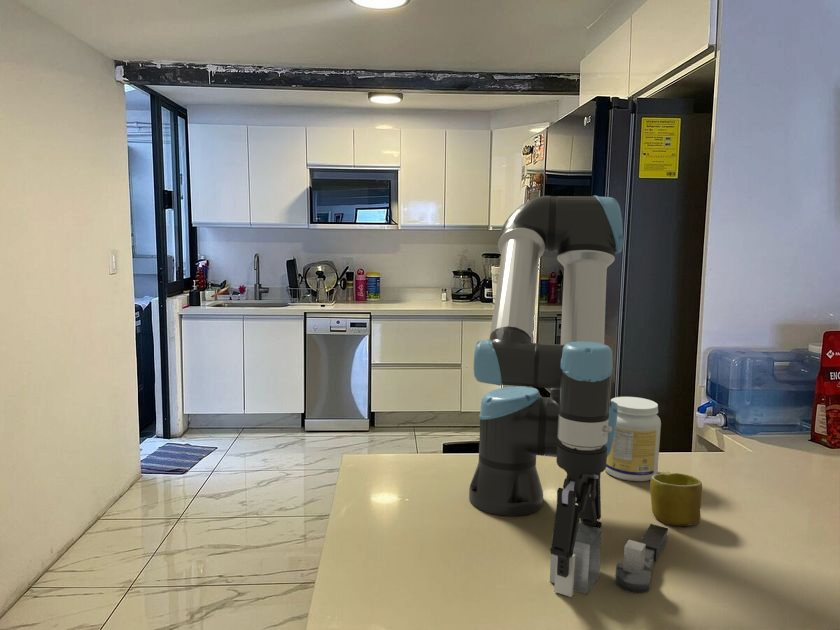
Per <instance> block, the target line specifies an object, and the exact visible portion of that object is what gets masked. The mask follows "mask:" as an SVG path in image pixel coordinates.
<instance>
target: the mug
mask: <svg viewBox="0 0 840 630" xmlns="http://www.w3.org/2000/svg"><path fill="white" fill-rule="evenodd" d="M649 481H650V482H649V491H650V499H651V501H650V503H651V510H652V511H651V512H652V514H653V516H654V517H655V519H656V520H658V521H659V522H661V523H663V524H664V525H671V526H676V527H677V526H678V527H679V526H682V527H683V526H685V527H686V526H693V525H696V524H699V523H700V521H701V509H702V508H701V507H702V496H703V484H702V481H701V479H699V478H697V477H695V476H693V475H691V474H686V473H679V472H678V473H677V472H674V473H672V472H670V471H669V470H660V471H659V472H658V473H657V474H656V475H653V476H652V477H651V480H649Z"/></svg>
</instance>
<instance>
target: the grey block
mask: <svg viewBox="0 0 840 630" xmlns="http://www.w3.org/2000/svg"><path fill="white" fill-rule="evenodd" d="M602 534H603V529H599V528H595V527H594V528H593V527H589V526H586V525H584V524H581V523H579V525H578V530H577V535H576V540H575V545H574V550H573V554H575V569H574V587H573V591H574V592H575V591H576V592H579V593H581V594H585V595H588V594H589V593H590V591H591V590H592V588H593V587H594V585H595V583H596V582H597V581H598V579H599V578H600V569H601V554H602V553H601V551H602V550H601V549H602V536H603V535H602ZM551 537H553V533H552V534H551ZM549 568H550V575H549V583H552V584H554V585H555V568H556V555H553V554H551V553H550V567H549Z"/></svg>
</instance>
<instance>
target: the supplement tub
mask: <svg viewBox="0 0 840 630" xmlns="http://www.w3.org/2000/svg"><path fill="white" fill-rule="evenodd" d="M611 401H614V402H615V403H617V404H618V411H617V423H616V429H615V435H614V440H613V444H612V448H611V451H610V454H609V456H608V457H607V463H606V469H605V470H604V471H605V472H606V473H607V474H608V475H611V476H612V477H614V478H617V479H618V480H619V479H620V480H624V481H629V482H647V481H651V477H652V476H653V475H656V474H658V471H659V470H658V469H659V458H660V457H659V455H660V444H661V443H660V441H661V429H662V428H661V427H662V422H661V421H662V420H661V418H660V417H659V415H658V413H659V404H658V403H657V402H655V401H654V400H651V399H647V398H643V397H637V396H616V397H613V398H610V402H611Z"/></svg>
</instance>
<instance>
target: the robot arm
mask: <svg viewBox="0 0 840 630" xmlns="http://www.w3.org/2000/svg"><path fill="white" fill-rule="evenodd" d="M623 233H624V229H623V217H622V211H621V207H620V204H619V202H618V201H617V199H615V198H614V197H610V196H598V195H591V196H590V195H589V196H587V195H586V196H584V195H583V196H582V195H581V196H580V195H578V196H577V195H575V196H574V195H573V196H572V195H571V196H569V195H566V196H563V195H561V196H560V195H558V196H556V195H553V196H552V195H543V196H537V197H535V198H532V199H529V200H528V201H526V202H524V203H522V205H520V206H519V207H518V208H516V209H515V210H514V211H513V212H512V213H511V214H510V215H509V216H508V218H507V219H506V220H505V222H504V223H503V225H502V228H501V229H500V233H499V236H498V242H497V249H498V252H499V254H500V255H501V256H500V263H499V270H498V275H497V276H498V277H497V284H496V289H495V290H496V291H495V298H494V304H493V310H492V311H493V312H492V318H491V326H490V332H489V339H485V340H484V339H483V340H481V339H480V340H478V341H477V342H476V344H475V346H474V352H473V375H474V378H475V380H476V381H477V382H479V383H482V384H489V385H496V386H499V387H500V386H504V387H501V388H496V389H492V390H490V391H488V392H486V393H485V394H484V395H483V397H482V398H481V401H480V413H479V415H478V419H479V439H478V440H479V443H478V463H477V466H476V468H475V471H474V474H473V477H472V479H471V482H470V484H469V489H468V500H469V502H470V503H471V504H472V505H473V506H474V507H475V508H477V509H479V510H481V511H482V512H486V513H489V514H493V515H496V516H497V515H499V516H506V517H507V516H508V517H519V516H526V515H527V516H528V515H530V514H533V513H536V512H538V511H539V510H541V508H542V507H543V505H544V491H543V487H542V483H541V480H540V476H539V473H538V470H537V456H542V457H551V458H556V465H557V466H558V467H559V468H560V469H562V470H563V471H565V473H566V474H567V475H566V476H565V478H564V481H563V485H562V487H558V488H557V490H556V506H555V507H556V508H555V517H554V524H553V532H552V534H553V537H552V536H551V537H552V538H551V546H550V548H549V551H550V555H551V554H553V555H556V568H555V584H554V591H553V592H554V593H557V594H560V595H564V596H566V597H569V598H572V597H573V595H574V590H573V587H574V569H575V554H573V550H574V545H575V540H576V535H577V530H578V525H579V524H582V525H586V526H589V527H593V528H597V529H600V530H602V527H603V522H602V521H599V520H601V518H602V510H601V509H602V504H601V503H602V501H601V473H602V472H604V471H605V469H606V463H607V457H608V456H609V454H610V451H611V448H612V444H613V440H614V435H615V429H616V423H617V411H618V404H617V403H615V402H614V401H611V390H612V379H613V378H612V376H613V372H614V365H613V350H612V348H611V347H610V346H609V345H607V344H605V331H606V329H605V328H606V326H605V325H606V304H607V303H606V301H607V300H606V298H607V295H606V294H607V272H608V271H607V269H608V267H610V265H612V264H613V262H615V260H616V258H615V256H616V255H617V254H619V253H621V252H622V251H623V248H624V247H623V246H624V239H623V238H624V235H623ZM545 251H547V252H555V253H556V252H557V253H556V254H557V256H556V260H557V262H559V263H560V265H562V266H563V285H562V301H561V302H562V306H561V325H560V329H561V330H560V344H555V343H553V344H551V343H540V342H539V343H536V342H533V333H534V332H533V330H534V320H535V319H534V318H535V310H536V296H537V286H538V273H539V271H538V270H539V261H540V259H541V257H542V256H543V255H544V252H545ZM505 386H506V387H505ZM537 388H540V389H550V395H549V396H550V397H548V396H547V397H545V396H541V394H540V391H539V390H538V389H537Z"/></svg>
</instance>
